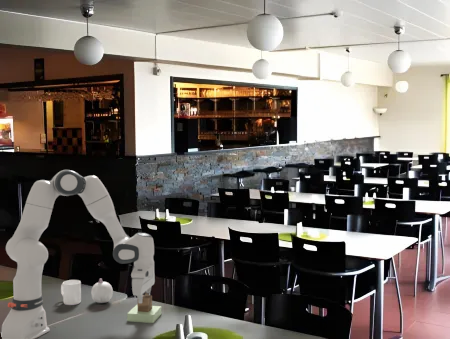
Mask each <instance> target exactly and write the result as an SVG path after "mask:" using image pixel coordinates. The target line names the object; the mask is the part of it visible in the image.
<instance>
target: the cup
mask: <svg viewBox="0 0 450 339" xmlns="http://www.w3.org/2000/svg"><path fill="white" fill-rule="evenodd" d="M60 293H61V295H62V298H63V301H62V302H63V304H64V305H66V306H75V305H78V304H79V305H80V303H81V301H82V282H81V280H79V279H69V280H65V281H63V282H62V283H61V285H60Z"/></svg>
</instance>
